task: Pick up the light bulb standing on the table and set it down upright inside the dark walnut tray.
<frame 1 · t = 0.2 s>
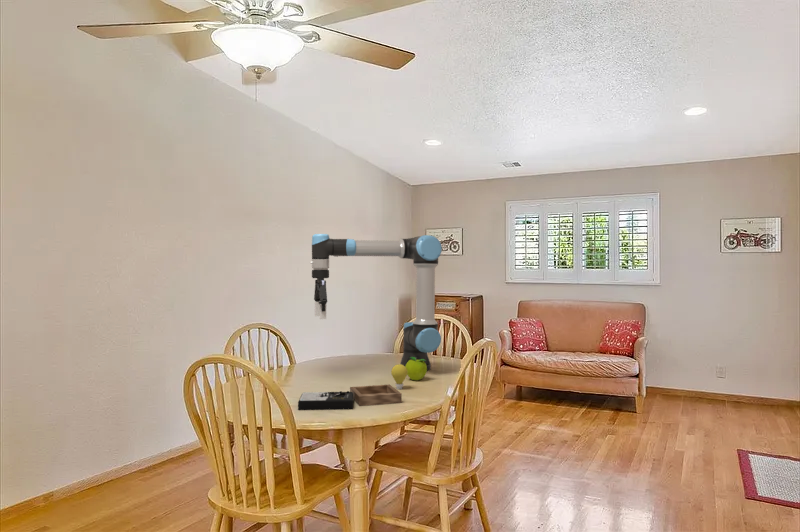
hand: (320, 317, 237), 28 cm above the table, fingers open, 13 cm apart
light bulb: (399, 389, 222), on the table
tray: (375, 399, 205), on the table
multimeter: (326, 406, 196), on the table
fruit: (415, 380, 239), on the table
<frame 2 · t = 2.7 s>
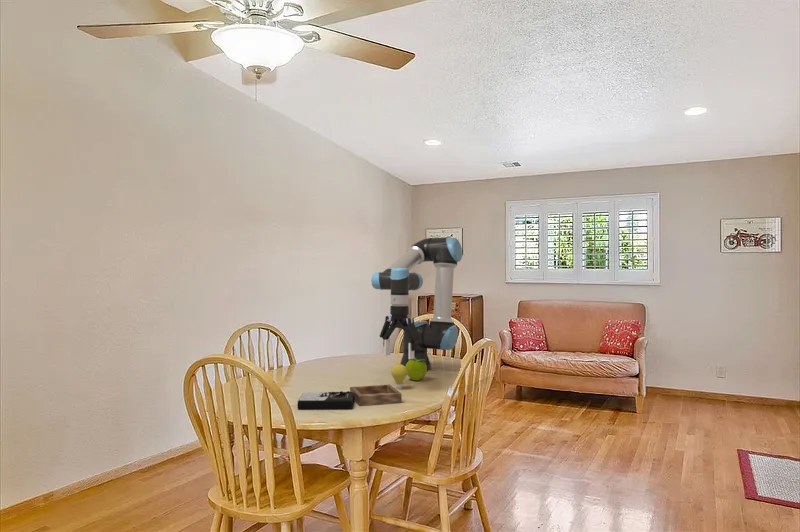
hand: (399, 357, 222), 13 cm above the table, fingers open, 13 cm apart
nothing on the table moved.
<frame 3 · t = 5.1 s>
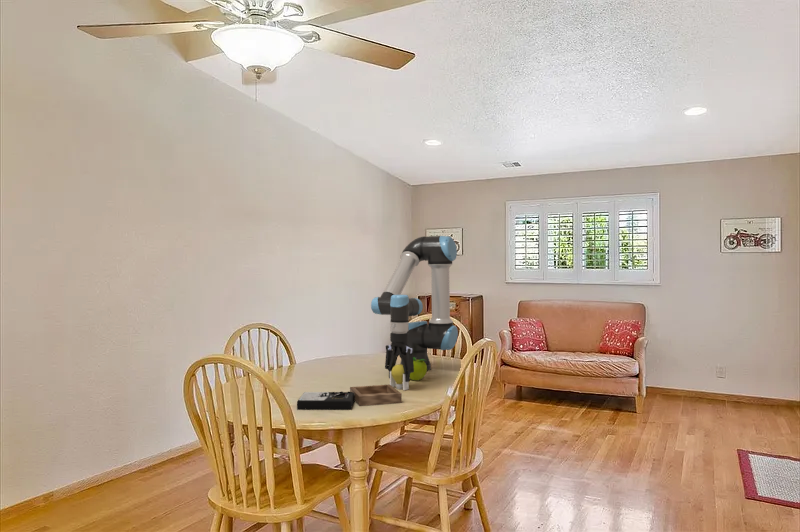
hand: (399, 388, 222), 0 cm above the table, fingers closed on light bulb, 7 cm apart
light bulb: (399, 389, 222), on the table, touching gripper
everything else where it was.
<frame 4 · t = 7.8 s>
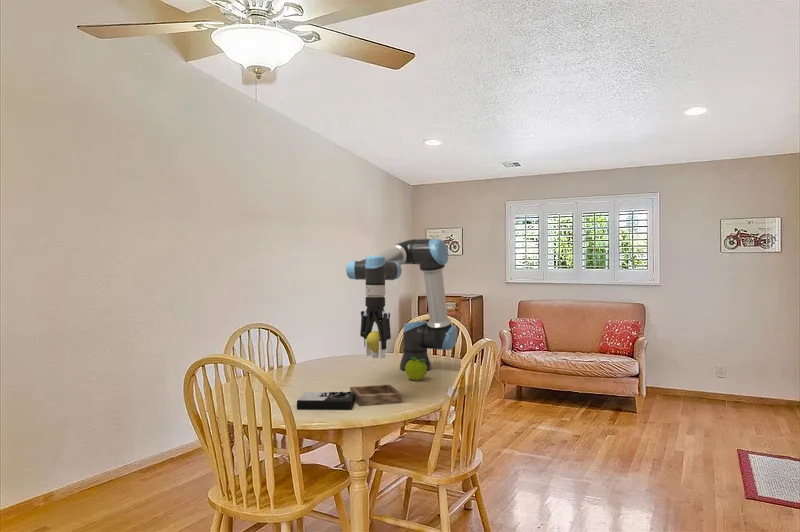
hand: (375, 356, 205), 16 cm above the table, fingers closed on light bulb, 7 cm apart
light bulb: (375, 357, 205), point 16 cm above the table, touching gripper
everything else where it was.
when the fingers open (2 cm above the table, at t = 10.9 s): light bulb drops 2 cm, resting on tray.
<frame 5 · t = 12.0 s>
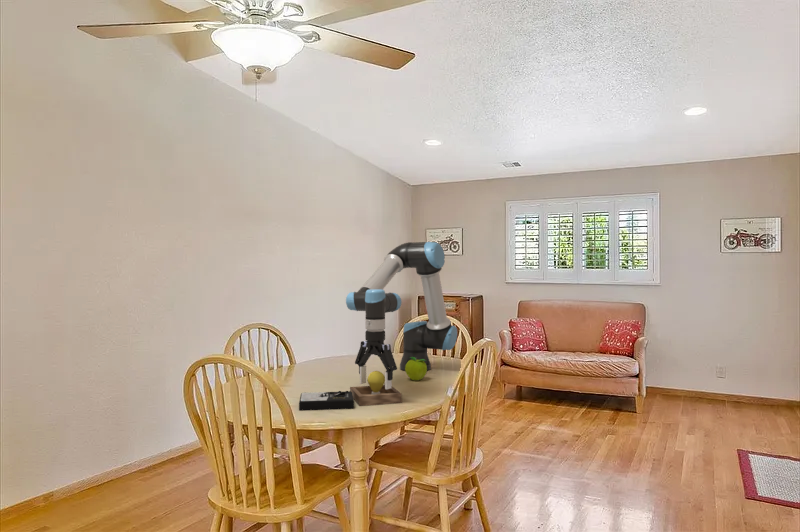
hand: (375, 386, 205), 5 cm above the table, fingers open, 13 cm apart
light bulb: (375, 397, 205), resting on tray
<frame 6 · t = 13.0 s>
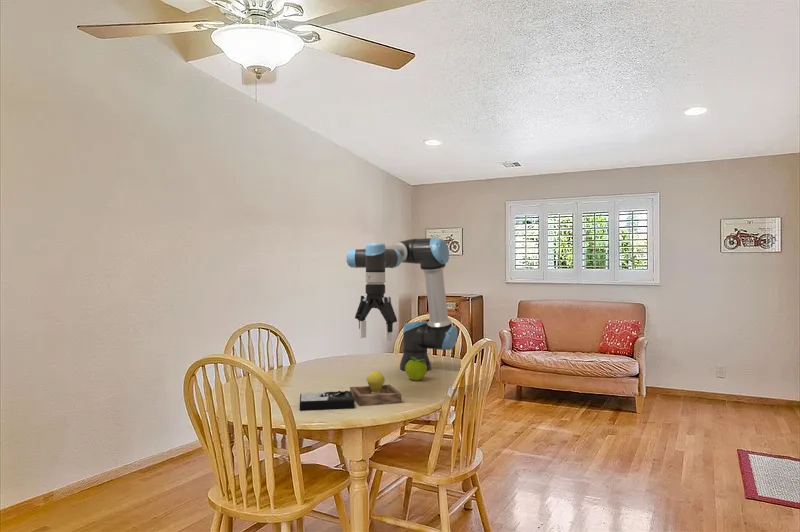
hand: (375, 339, 205), 23 cm above the table, fingers open, 13 cm apart
nothing on the table moved.
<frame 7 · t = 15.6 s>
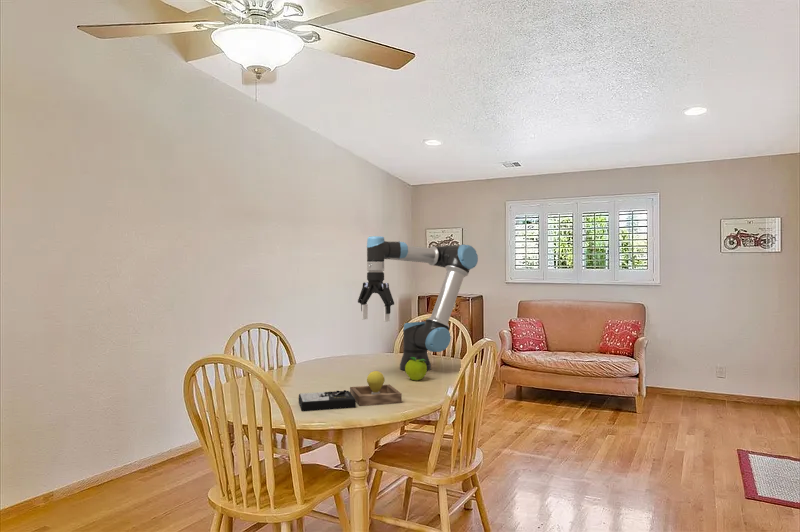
hand: (375, 320, 236), 27 cm above the table, fingers open, 13 cm apart
at the end: light bulb inside the target area on the tray (0.2 cm from its centre), point 0.4 cm above the tray's base; the gripper is holding nothing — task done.
